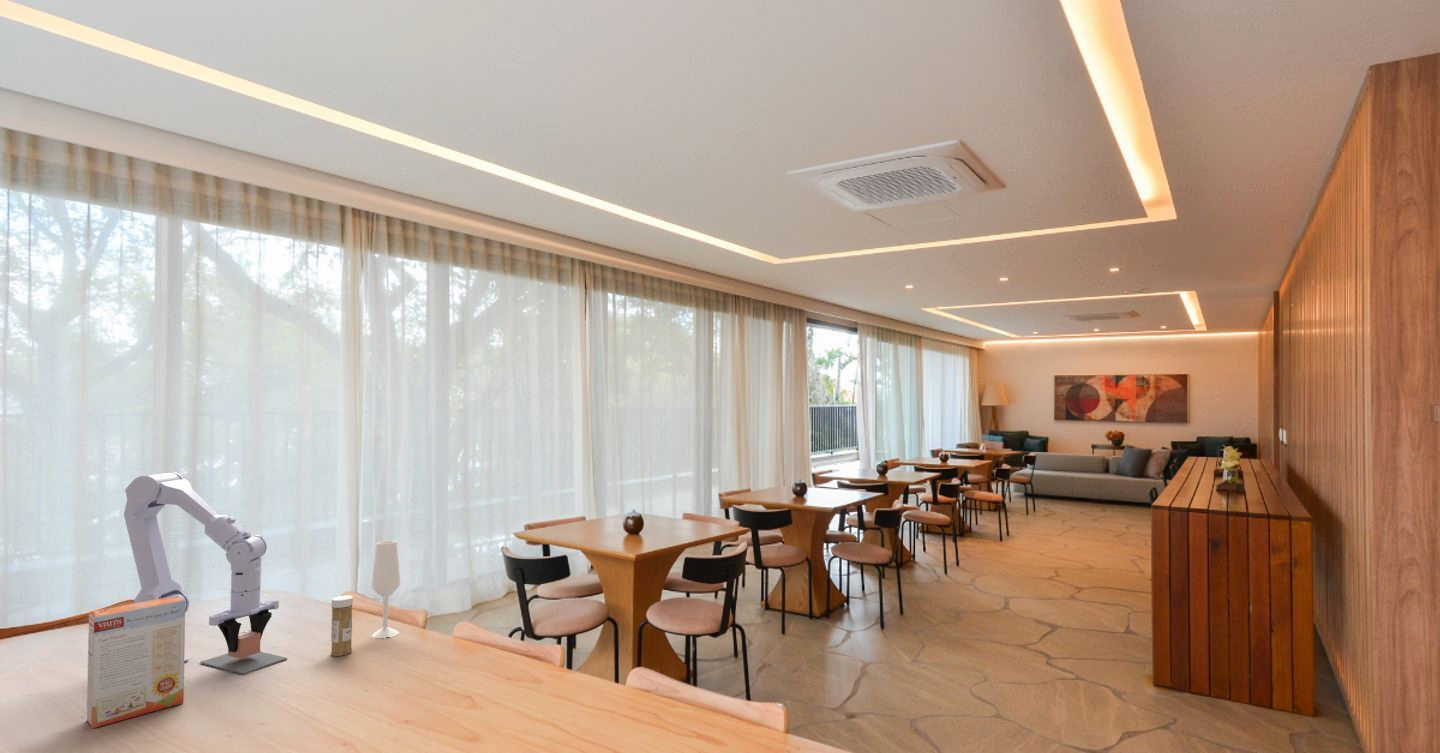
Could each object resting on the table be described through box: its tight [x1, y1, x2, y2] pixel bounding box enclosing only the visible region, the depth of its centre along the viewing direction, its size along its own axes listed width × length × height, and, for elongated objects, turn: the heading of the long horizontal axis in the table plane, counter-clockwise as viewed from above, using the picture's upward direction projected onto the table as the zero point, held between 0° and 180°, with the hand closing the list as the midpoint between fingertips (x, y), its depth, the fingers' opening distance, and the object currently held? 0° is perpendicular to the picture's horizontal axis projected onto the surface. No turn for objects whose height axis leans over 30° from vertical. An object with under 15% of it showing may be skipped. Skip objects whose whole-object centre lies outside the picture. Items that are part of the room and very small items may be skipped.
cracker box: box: [86, 596, 186, 729], centre depth 134 cm, size 14×6×21 cm, turn 141°
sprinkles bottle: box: [330, 595, 354, 657], centre depth 165 cm, size 5×5×14 cm
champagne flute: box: [371, 539, 401, 639], centre depth 179 cm, size 7×7×24 cm
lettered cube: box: [227, 630, 262, 659], centre depth 160 cm, size 4×4×5 cm
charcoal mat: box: [199, 651, 288, 676], centre depth 160 cm, size 16×10×1 cm, turn 66°
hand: (244, 647), depth 160 cm, fingers closed on lettered cube, 4 cm apart
